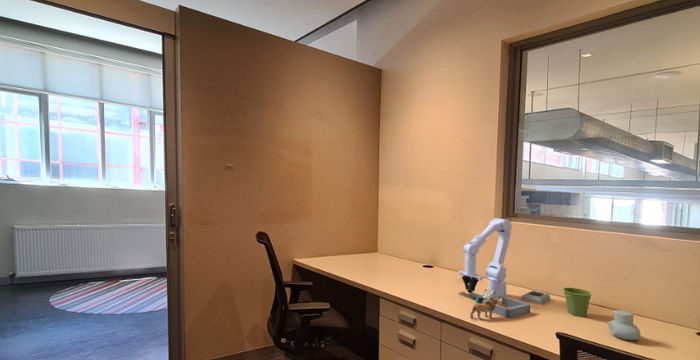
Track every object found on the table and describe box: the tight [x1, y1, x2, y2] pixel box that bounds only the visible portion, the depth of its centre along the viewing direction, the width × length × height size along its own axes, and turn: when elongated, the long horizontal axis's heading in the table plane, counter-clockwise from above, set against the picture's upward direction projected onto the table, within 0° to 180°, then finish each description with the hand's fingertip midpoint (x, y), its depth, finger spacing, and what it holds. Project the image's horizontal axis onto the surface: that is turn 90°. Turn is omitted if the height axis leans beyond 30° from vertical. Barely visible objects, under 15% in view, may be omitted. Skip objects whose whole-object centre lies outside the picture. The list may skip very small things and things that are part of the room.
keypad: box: [520, 289, 551, 306], centre depth 172 cm, size 10×4×15 cm
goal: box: [481, 296, 531, 319], centre depth 153 cm, size 17×14×4 cm
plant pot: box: [562, 287, 593, 318], centre depth 151 cm, size 12×12×11 cm
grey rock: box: [481, 288, 502, 304], centre depth 161 cm, size 9×8×10 cm
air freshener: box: [607, 309, 642, 341], centre depth 127 cm, size 11×8×10 cm
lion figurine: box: [469, 297, 497, 321], centre depth 143 cm, size 15×5×9 cm, turn 116°
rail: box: [458, 291, 475, 301], centre depth 173 cm, size 3×10×1 cm, turn 29°
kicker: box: [466, 282, 484, 304], centre depth 168 cm, size 11×11×8 cm
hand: (470, 290), depth 172 cm, fingers open, 3 cm apart
